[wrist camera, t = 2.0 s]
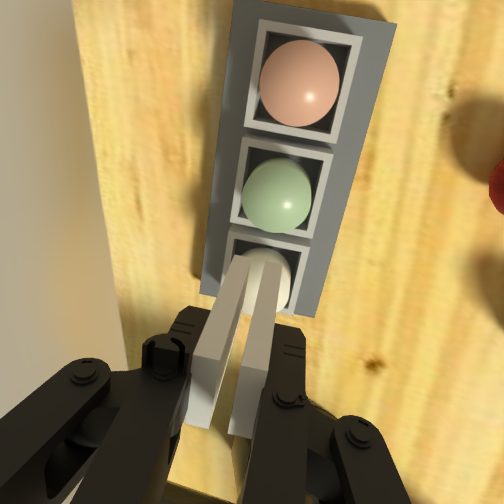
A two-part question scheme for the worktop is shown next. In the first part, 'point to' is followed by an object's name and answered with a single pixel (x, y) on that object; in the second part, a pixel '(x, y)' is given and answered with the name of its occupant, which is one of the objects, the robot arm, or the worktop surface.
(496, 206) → the onion
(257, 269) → the cream button
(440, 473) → the worktop surface
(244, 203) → the sage button
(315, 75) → the terracotta button
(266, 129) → the button panel
